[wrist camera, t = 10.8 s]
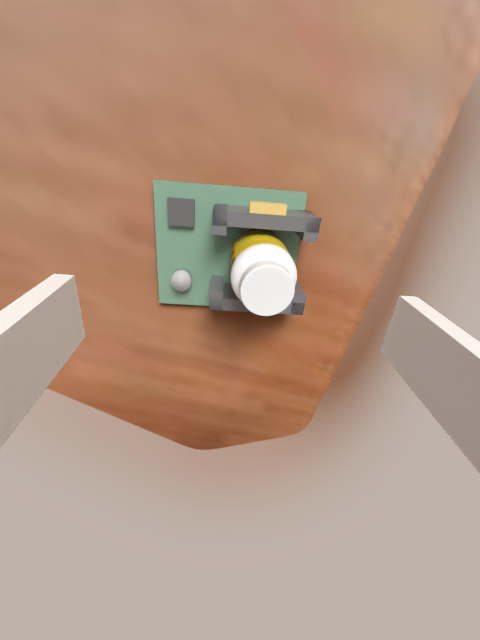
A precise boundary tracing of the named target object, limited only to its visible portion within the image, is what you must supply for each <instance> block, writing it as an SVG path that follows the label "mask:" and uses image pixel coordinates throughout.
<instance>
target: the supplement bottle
mask: <svg viewBox="0 0 480 640" xmlns="http://www.w3.org/2000/svg"><path fill="white" fill-rule="evenodd" d="M230 280H231V285H232V288H233V291H234V293H235V294H236V296H237V297H238V298H239V299H240V300H241V301H242V302H243V304H244V306H245V307H246V308H247V309H248V310H249V311H251V312H252V313H254V314H256V315H260V316H272V315H275V314H278V313H280V312H282V311H283V310H285V309H286V308H287V307H288V306H289V304H290V303H291V301H292V299H293V297H294V292H295V285H296V281H297V270H296V266H295V263H294V261H293V259H292V257H291V256H290V254H289V252H288V250H287V249H286V247H285V246H284V244H283V242H282V241H281V239H280V238H279V237H278V236H277V235H276V234H275V233H274V232H272V231H271V230H268V229H254V228H252V229H249V230H246V231H244V232H243V233H241V234H240V235H239V236H238V237H237V238H236V240H235V241H234V243H233V245H232V248H231V253H230Z"/></svg>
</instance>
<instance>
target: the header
mask: <svg viewBox="0 0 480 640" xmlns="http://www.w3.org/2000/svg"><path fill="white" fill-rule="evenodd" d="M320 223H321V218H320V217H318V216H317V215H315V214H313V213H312V212H310V211H304V210H291V209H287V205H286V204H285V203H273V202H261V201H249V206H240V205H227V204H215V205H214V208H213V218H212V235H223V236H226V233H227V227H241V228H254V229H268V230H282V231H294V232H295V233H296V234H297V235H298V236H299V237H300V239H301V240H302V241H308V242H317V238H318V233H319V228H320ZM305 301H306V295H305V293H304V291H303V290H302V288H301V286H300V284H299V283H298V281H296V285H295V292H294V297H293V299H292V301H291V303H290V304H289V306H288V307H287V308H286V309H285V310H283V311H282V312H280V313H278V314H294V315H303V311H304V306H305ZM209 310H221V311H239V312H251V311H249V310H248V309H247V308H246V307H245V306H244V304H243V302H242V301H241V300H240V299H239V298H238V297H237V296H236V294H235V293H234V291H233V288H232V285H231V283H224V276H218V275H212V280H211V287H210V305H209Z"/></svg>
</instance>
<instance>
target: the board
mask: <svg viewBox="0 0 480 640" xmlns="http://www.w3.org/2000/svg"><path fill="white" fill-rule="evenodd" d="M153 190H154V210H155V230H156V250H157V271H158V291H159V303H167V304H185V305H203V306H209V305H210V287H211V280H212V275H218V276H224V283H231V280H230V253H231V248H232V245H233V243H234V241H235V240H236V238H237V237H238V236H239V235H240V234H241V233H243V232H244V231H246V230H249V229H252V228H241V227H227V233H226V236H223V235H212V218H213V208H214V205H215V204H227V205H240V206H249V201H261V202H273V203H285V204H286V205H287V209H291V210H304V211H305V205H306V199H307V192H299V191H286V190H274V189H262V188H250V187H238V186H225V185H213V184H201V183H189V182H176V181H164V180H153ZM271 231H272V232H274V233H275V234H276V235H277V236H278V237H279V238H280V239H281V241H282V242H283V244H284V246H285V247H286V249H287V250H288V252H289V254H290V256H291V257H292V259H293V261H294V263H295V266H296V259H297V253H298V247H299V241H300V237H299V236H298V235H297V234H296V233H295V232H294V231H282V230H271Z"/></svg>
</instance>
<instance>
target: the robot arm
mask: <svg viewBox="0 0 480 640" xmlns="http://www.w3.org/2000/svg"><path fill="white" fill-rule="evenodd" d="M84 338H85V332H84V327H83V321H82V315H81V309H80V304H79V298H78V292H77V287H76V281H75V275H62V274H53V275H51V276H50V277H49V278H47V279H46V280H44V281H43V282H41V283H40V284H39V285H37V286H36V287H34V288H33V289H31V290H30V291H28V292H27V293H26V294H24V295H23V296H21V297H20V298H18V299H17V300H16V301H14V302H13V303H11V304H10V305H8V306H7V307H6V308H4V309H3V310H1V311H0V448H1V447H2V446H3V444H4V443H5V442H6V440H7V439H8V438H9V436H10V435H11V434H12V433H13V431H14V430H15V429H16V427H17V426H18V425H19V423H20V422H21V421H22V419H23V418H24V417H25V415H26V414H27V413H28V411H29V410H30V409H31V408H32V406H33V405H34V404H35V402H36V401H37V400H38V398H39V397H40V396H41V394H42V393H43V392H44V390H45V389H46V388H47V387H48V385H49V384H50V383H51V381H52V380H53V379H54V377H55V376H56V375H57V373H58V372H59V371H60V369H61V368H62V367H63V365H64V364H65V363H66V361H67V360H68V359H69V358H70V356H71V355H72V354H73V352H74V351H75V350H76V348H77V347H78V346H79V344H80V343H81V342H82V340H83V339H84ZM380 351H381V352H382V354H383V355H384V356H385V357H386V359H387V360H388V361H389V362H390V364H391V365H392V366H393V367H394V368H395V370H396V371H397V372H398V373H399V375H400V376H401V377H402V378H403V379H404V381H405V382H406V383H407V384H408V386H409V387H410V388H411V389H412V391H413V392H414V393H415V394H416V395H417V397H418V398H419V399H420V400H421V402H422V403H423V404H424V405H425V407H426V408H427V409H428V410H429V411H430V413H431V414H432V415H433V416H434V417H435V419H436V420H437V421H438V423H439V424H440V425H441V426H442V427H443V429H444V430H445V431H446V432H447V434H448V435H449V436H450V437H451V439H452V440H453V441H454V442H455V444H457V446H458V447H459V448H460V450H461V451H462V452H463V453H464V455H465V456H466V457H467V458H468V459H469V461H470V462H471V463H472V464H473V466H474V467H475V468H476V469H477V471H478V472H479V473H480V342H479V341H477V340H476V339H474V338H473V337H472V336H470V335H468V333H466V332H465V331H463V330H462V329H461V328H459V327H458V326H456V325H455V324H454V323H452V322H451V321H450V320H448V319H447V318H445V317H444V316H443V315H441V314H440V313H438V312H437V311H436V310H434V309H433V308H431V307H430V306H429V305H427V304H426V303H424V302H423V301H422V300H420V299H419V298H418V297H411V296H399V299H398V302H397V304H396V307H395V310H394V313H393V316H392V318H391V321H390V324H389V326H388V329H387V332H386V335H385V338H384V340H383V343H382V346H381V349H380Z"/></svg>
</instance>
